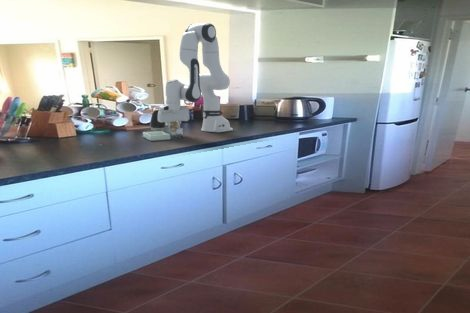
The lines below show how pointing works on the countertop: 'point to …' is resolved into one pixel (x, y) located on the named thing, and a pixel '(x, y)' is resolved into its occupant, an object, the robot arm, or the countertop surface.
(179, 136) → the metal cylinder
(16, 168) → the countertop surface
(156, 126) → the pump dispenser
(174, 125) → the beech block
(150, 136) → the tray
